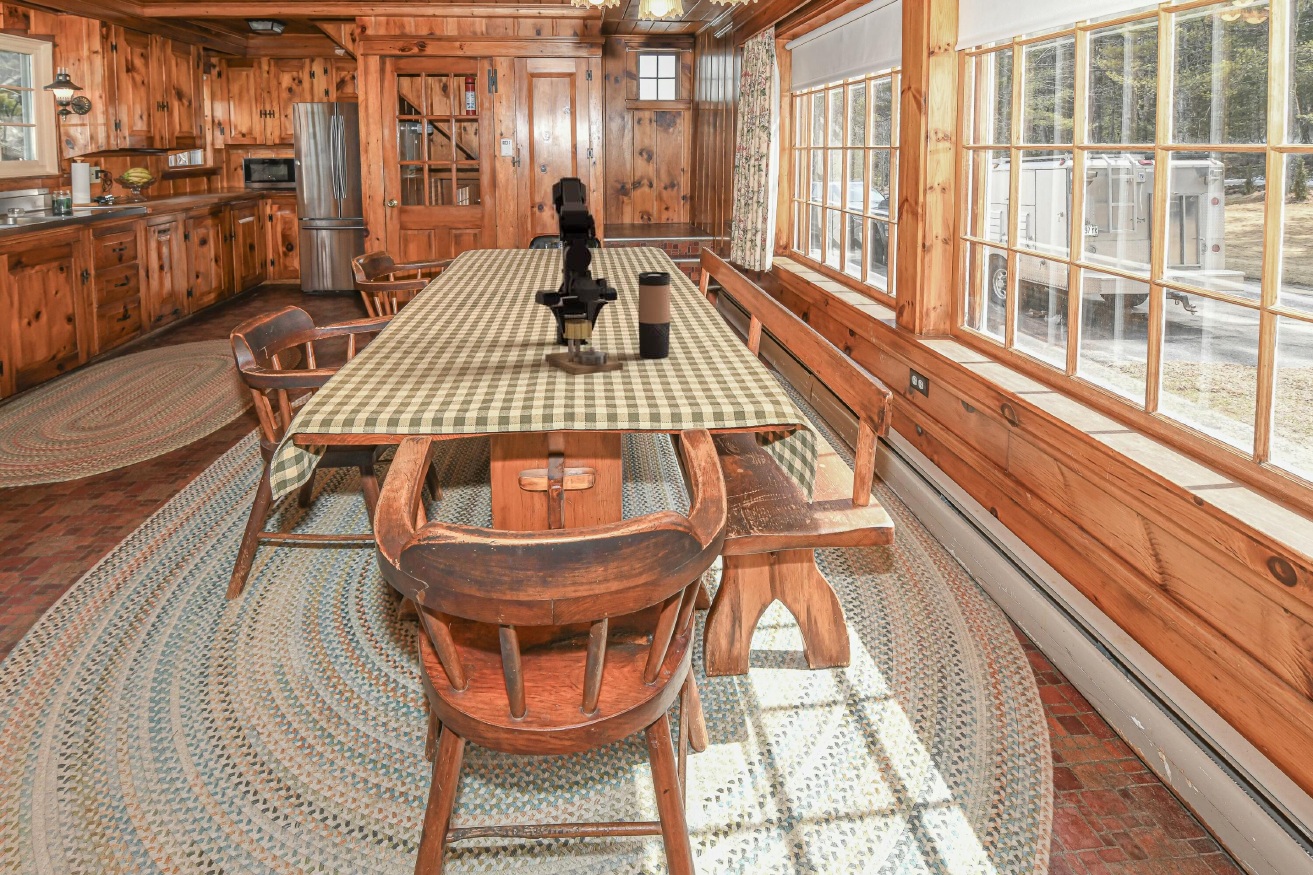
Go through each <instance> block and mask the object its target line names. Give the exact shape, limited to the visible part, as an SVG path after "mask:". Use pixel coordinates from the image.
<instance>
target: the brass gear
mask: <svg viewBox="0 0 1313 875" xmlns="http://www.w3.org/2000/svg"><path fill="white" fill-rule="evenodd" d="M592 332H593V331H592V322H591V321H590V320H584V319H575V320H573V319H570V320H567V321H565V334H563V336H564V338H569V339H585V340H586V339H589V338H592V337H593V333H592Z"/></svg>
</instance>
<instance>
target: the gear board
mask: <svg viewBox="0 0 1313 875" xmlns="http://www.w3.org/2000/svg"><path fill="white" fill-rule="evenodd" d="M574 349H575V350H574ZM544 357H545V362H548V363H549V364H551V365H554V366H556V367H558V368H559V369H562V370H563V371H566V372H569V373H571V374H572V375H574V376H576V375H577V376H578V375H579V376H580V375H586V374H587V375H588V374H594V373H601V372H610V371H611V372H613V371H618V370H619V371H621V370H623V369H624V363H623V362H622V361H619V360H618V359H617V360H616V359H615V358H612V357H609V356H608V353H607V352H602V351H597V350H596V347H594V346H591V347H589V349H584V350H581V344H580V339H575V345H573V340H568V346H567V351H566V352H555V353H547V354H545V356H544ZM612 370H613V371H612Z"/></svg>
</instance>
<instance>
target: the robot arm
mask: <svg viewBox="0 0 1313 875" xmlns="http://www.w3.org/2000/svg"><path fill="white" fill-rule="evenodd" d="M551 204H552V205H553V206H554V213H555V214H556V215H557V224H558V225H557V226H558V239H559V242H561V248H562V252H561V254H562V268H561V274H562V282H561V283H560V286H559V288H558V290H554V289H540V290H537V291H536V293H535V295H534V302H535V303H536V304H538V305H541V306H544V307H545V306H546V307H548V308H549V309H550V311H551V313H552V314H553V317H554V318H555V322H556V323H557V325H556V343H558V344H561V345H563V346H564V347H565V346H567V347H568V340H573V346H575V339H569V338H564V336H563V334H565V321H567V320H570V319H573V320H575V319H584V320H590V321H591V322H592V332H593V331H594V329H595V326H596V322H597V320H598V316H599V314H600V313H601V310H602V309H603V308H604V307H605V305H609V301H617V300H618V291H617V289H616V287H612V286H609V285H608V283H607V282H608V281H607V279H606V278H605V277H601V278H596V279H593V276H592V274H593V273H592V270H591V269H590V268H589V267H590V265H591V263H592V259H593V257H592V256H593V255H592V252H591V250H590V248H589V244H588V242H594V238H596V236H597V232H596V222H595V221H596V220H595V218H594V216H593V214H590V211H589V206H587V205H586V204H587V186H586V184H585V183H583V182H582V181H581V178H580V177H579V178H578V177H577V176H574V177H573V176H567V177H566V176H564V177H562V178H561V177H560V178H559V181H558V182H556V183H554V184H552V186H551ZM587 344H589V341H587V340H586V338H585V339H580V345H587Z"/></svg>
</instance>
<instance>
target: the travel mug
mask: <svg viewBox="0 0 1313 875" xmlns="http://www.w3.org/2000/svg"><path fill="white" fill-rule="evenodd" d="M637 311H638V314H637V315H638V323H637V324H638V346H639V348H638V352H639V357H640V358H643V359H646V360H647V359H649V360H660V359H661V360H662V359H666V358H668V357H669V353H670V352H669V350H670V332H671V330H670V328H671V327H670V326H671V274H670V273H669V272H664V271H663V272H662V271H644V272H640V273H638V310H637Z"/></svg>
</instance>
